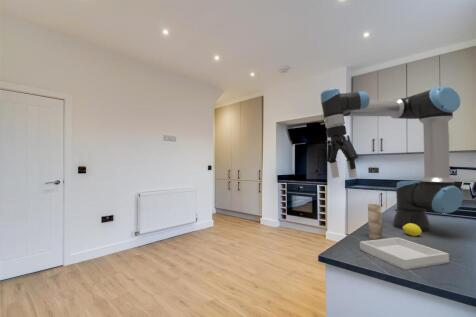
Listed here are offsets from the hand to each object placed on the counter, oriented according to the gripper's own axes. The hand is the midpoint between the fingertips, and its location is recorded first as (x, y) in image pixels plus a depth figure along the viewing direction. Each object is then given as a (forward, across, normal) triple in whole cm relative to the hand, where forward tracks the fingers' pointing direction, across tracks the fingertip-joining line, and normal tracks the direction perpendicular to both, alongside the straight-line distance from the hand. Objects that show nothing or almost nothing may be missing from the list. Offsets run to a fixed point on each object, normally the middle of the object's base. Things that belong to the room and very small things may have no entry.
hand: (344, 177), depth 99 cm
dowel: (+28, -5, +12) cm, 31 cm away
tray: (+28, +15, +8) cm, 33 cm away
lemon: (+30, -7, +30) cm, 43 cm away
